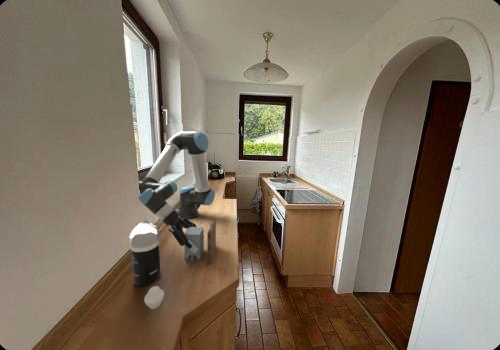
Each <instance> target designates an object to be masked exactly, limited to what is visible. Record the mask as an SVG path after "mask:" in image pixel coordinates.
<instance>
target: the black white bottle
mask: <svg viewBox="0 0 500 350" xmlns="http://www.w3.org/2000/svg"><path fill="white" fill-rule="evenodd" d="M129 235H130V236H129V243H130V247H129V249H130V250H131V251H130V252H131V266H132V279H133V283H134V284H135V285H137V286H140V287H141V286H143V287H144V286H149V285H151V284H153V283H155V282H156V281H157V280H158V279H159V278H160V277H161V273H162V271H161V270H162V269H161V268H162V267H161V251H160V242H161V240H160V231H159V229H158V227H157V226H156V225H154V224H153V223H151V222H148V221H147V220H146V221H145V220H144V221H142V222H140V223H138V225H137V226H135V227H134V229H132V231H131V232H130V234H129Z"/></svg>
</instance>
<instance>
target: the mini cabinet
mask: <svg viewBox="0 0 500 350" xmlns="http://www.w3.org/2000/svg"><path fill="white" fill-rule="evenodd" d="M204 228H205V227H204V226H197V227H189V228H188V229H186V231H185V232H184V234H185V236H186V238H187V240H190V241H191V242H192V243H193V244H194V245H195V246H196V247H198V248H199V250H198V251H197V252H196V253H194V252H193V251H191V250H190V249H189V248H188V247H187V246H186V245H184V246H183V247H184V260H190V258H191V255H196V256H195V259H196V260H201V258H202V256H203V253H204V249H205V246H204V244H205V243H204V242H205V241H204V240H205V239H204V237H205V235H204V234H205V233H204V231H205V230H204Z"/></svg>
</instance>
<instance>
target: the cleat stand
mask: <svg viewBox="0 0 500 350" xmlns="http://www.w3.org/2000/svg"><path fill="white" fill-rule="evenodd" d="M206 234H207V235H206V236H207V241H206V242H207V243H206V244H207V247H206V248H207V251H206V252H207V265H209V266H210V265H211V264H212V261H213V257H214V254H215V250H216V246H217V245H216V243H217V239H216V237H217V219H216V218H213V219H212V221H211V222H210V225H209V227H208V229H207V233H206ZM195 259H196V255H191V256H190V258H189V259H188V265H193V263H194V260H195Z"/></svg>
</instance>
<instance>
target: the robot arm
mask: <svg viewBox="0 0 500 350" xmlns="http://www.w3.org/2000/svg"><path fill="white" fill-rule="evenodd" d="M164 146H165V147H164V149H163V151H162V152H161V154H160V155H159V156H158V158H157V159H156V161H155V163H154V164H153V165H152V167H151V168H150V169H149V171H148V173H147V174H146V175H145V177H144V178H143V180H139V190H140V195H139V196H138V201H139V202H140V203H141V204H142V205H143V206H144V207H146V208H147V209H148V210H149V211H150V212H151V213H152V214H153V215H155V216H156V218H158V219H159V220H160V221H162V223H163V224H165V226H167V227H168V226H170V227H169V229H168V232H170V233H171V234H172V236H173V237H174V238H175V240H176V242H178V244H179V246H180V247H184V245H186V246H187V247H188V248H189V249H190V250H191V251H193V252H194V253H196V252H197V251H198V250H199V248H198V247H196V246H195V245H194V244H193V243H192V242H191V241H190V240H187V238H186V236H185V232H184V230H183V229H186V230H187V229H188V228H189V227H198V226H197V225H196V224H195V223H194V222H193V221H190V219H194V218H197V217H198V216H199V210H198V207H197V205H202V206H211V205H212V204H213V202H214V200H215V198H216V192H215V190H213V189H212V186H211V185H210V184H209V180H208V172H207V165H206V159H205V154H206V153H207V150H208V149H209V139H208V136H207V135H206V134H205V133H204V132H202V131H180V132H177V133H175V134H174V135H172V137H170V138H169V139H168V141H167V142H166V143H165V145H164ZM183 150H186V151H187V154H188V155H190V156H191V164H192V169H193V175H194V181H195V185H187V186H183V187H180V189H179V204H180V205H179V210H178V211H177V210H175V209H174V208H173V206H171V205H170V204H169V203H168V202H167V200H168V199H170V198H171V197H173V196H174V194H175V193H176V192H177V191H178V185H177V183H176V182H175V181H174V180H173V181H172V180H168V181H165V182H164V183H163V182H161V180H162V178H163V177H164V175H165V174H166V172H167V170H168V169H169V167H170V165H172V162H173V161H174V159H175V158H176V156H177V155H178V154H179V153H181V151H183Z"/></svg>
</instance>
